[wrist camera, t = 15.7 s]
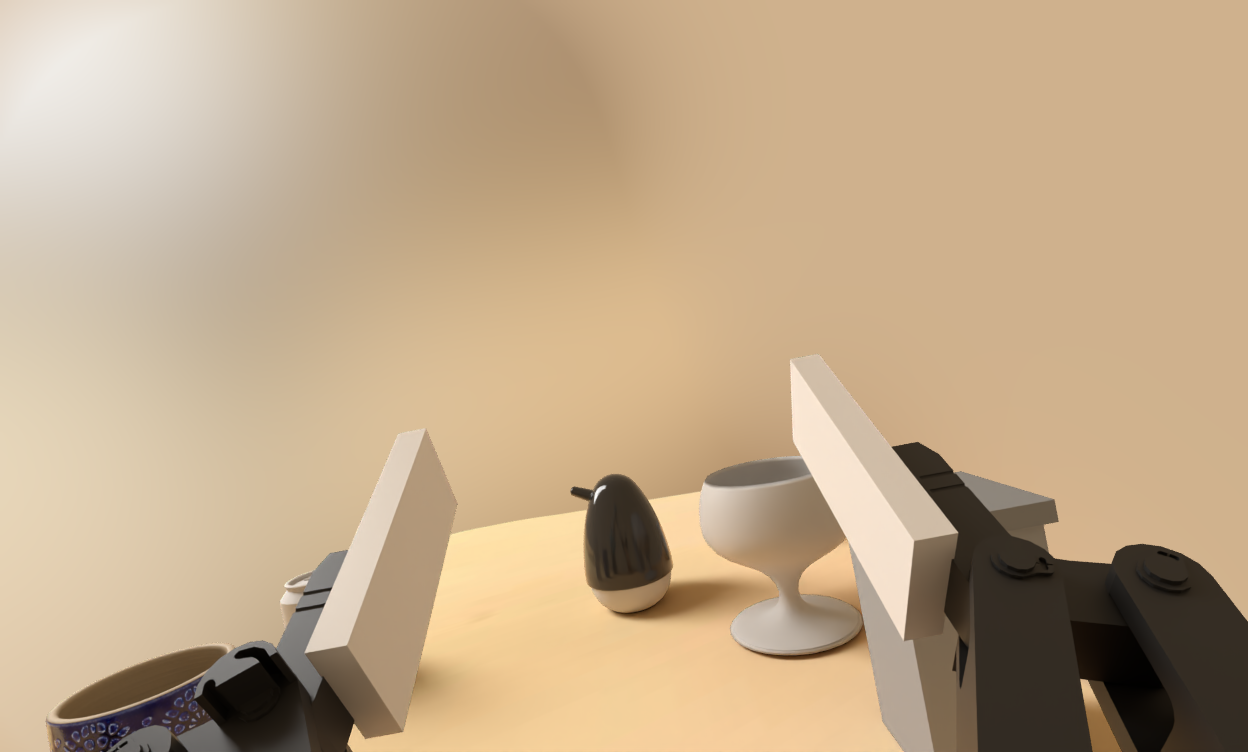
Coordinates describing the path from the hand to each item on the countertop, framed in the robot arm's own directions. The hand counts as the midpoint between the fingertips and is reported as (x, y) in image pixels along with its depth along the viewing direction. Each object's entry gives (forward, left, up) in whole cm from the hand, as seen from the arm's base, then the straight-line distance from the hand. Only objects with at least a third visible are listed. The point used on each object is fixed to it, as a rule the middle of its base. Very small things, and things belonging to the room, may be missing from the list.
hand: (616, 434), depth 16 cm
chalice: (-17, +38, -25) cm, 48 cm away
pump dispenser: (-37, +38, -25) cm, 58 cm away
